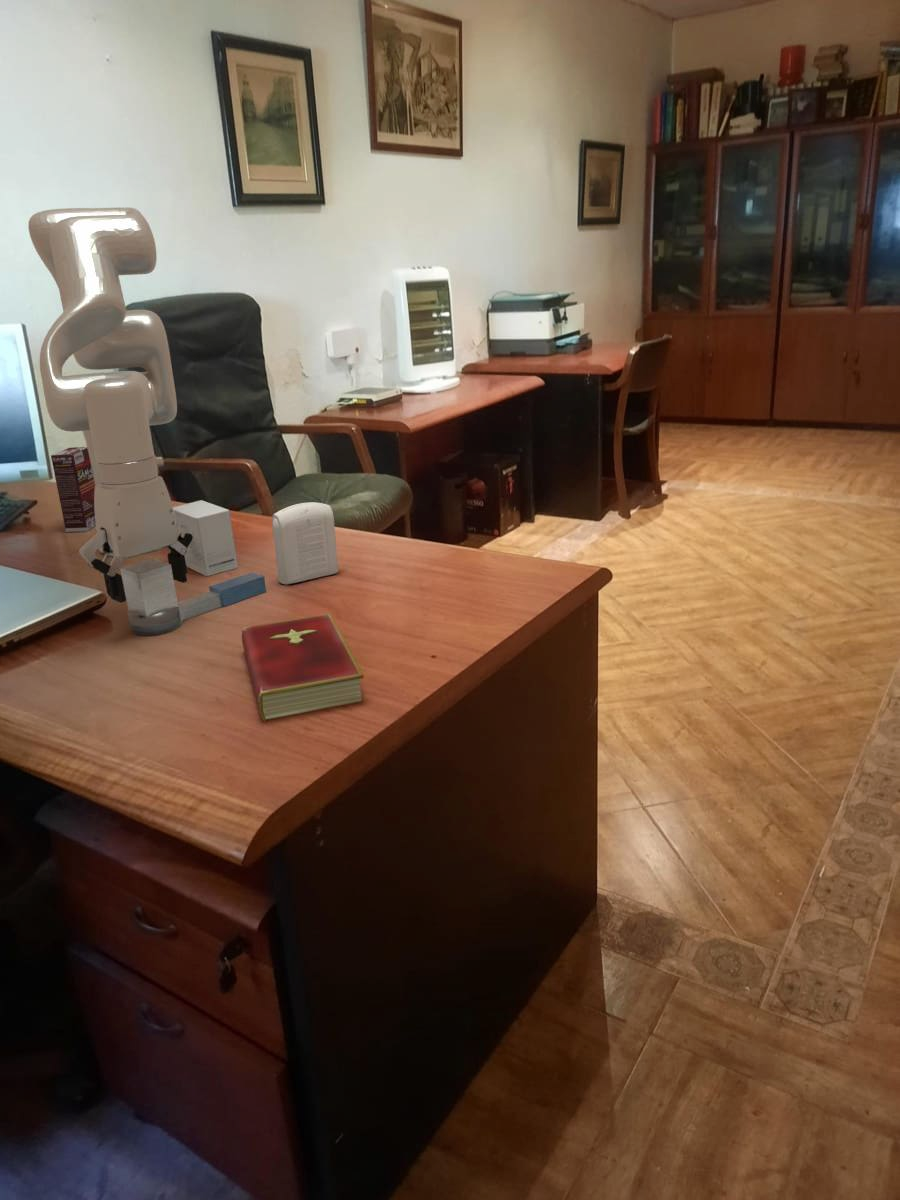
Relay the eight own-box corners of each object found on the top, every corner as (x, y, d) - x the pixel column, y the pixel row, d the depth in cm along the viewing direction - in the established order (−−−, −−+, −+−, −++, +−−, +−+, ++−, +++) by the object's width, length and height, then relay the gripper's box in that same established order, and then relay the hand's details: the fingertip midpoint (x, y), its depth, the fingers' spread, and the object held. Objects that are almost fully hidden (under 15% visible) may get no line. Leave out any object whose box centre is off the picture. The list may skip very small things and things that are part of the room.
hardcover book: (261, 725, 99) (256, 691, 97) (244, 654, 118) (239, 625, 116) (366, 705, 102) (363, 672, 100) (332, 640, 121) (329, 611, 119)
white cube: (128, 610, 127) (120, 567, 124) (159, 599, 130) (151, 558, 128) (147, 617, 123) (138, 574, 121) (178, 606, 127) (170, 564, 125)
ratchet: (121, 629, 127) (113, 584, 125) (246, 585, 143) (241, 545, 140) (147, 639, 123) (139, 594, 121) (273, 593, 138) (268, 552, 136)
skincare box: (178, 564, 155) (168, 506, 152) (211, 555, 159) (202, 499, 156) (205, 577, 148) (195, 516, 144) (239, 568, 152) (231, 508, 148)
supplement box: (88, 531, 179) (72, 454, 174) (65, 533, 179) (48, 455, 174) (104, 520, 187) (90, 446, 182) (82, 521, 187) (67, 447, 182)
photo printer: (331, 567, 149) (324, 496, 145) (343, 573, 146) (335, 500, 141) (274, 581, 144) (265, 507, 140) (285, 587, 141) (276, 512, 136)
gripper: (169, 457, 128) (187, 569, 134) (53, 481, 116) (79, 603, 122) (198, 462, 123) (216, 578, 129) (80, 488, 111) (106, 614, 117)
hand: (149, 590), depth 126 cm, fingers open, 9 cm apart
